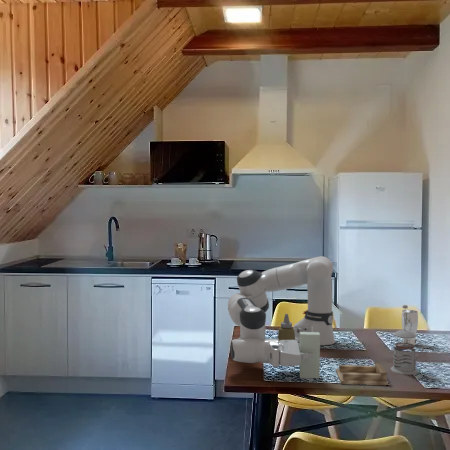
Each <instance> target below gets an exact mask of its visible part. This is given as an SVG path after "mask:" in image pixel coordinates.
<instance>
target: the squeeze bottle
mask: <svg viewBox="0 0 450 450" xmlns="http://www.w3.org/2000/svg"><path fill="white" fill-rule="evenodd" d="M289 317H290V316H289V314H288V313H284V319H283V321H282V322H280V327H279V328H278V331H277V333H278V334H277V339H279V341H280V340H295V332H294V329H293V322H291V321H290V318H289Z"/></svg>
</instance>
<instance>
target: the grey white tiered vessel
mask: <svg viewBox="0 0 450 450" xmlns="http://www.w3.org/2000/svg"><path fill="white" fill-rule="evenodd" d="M408 308H409V307H408V305H407V304H403V305H402V309H408ZM393 336H394V337H396V338H400V339H403V338H404V343H402V342H403V341H399V342H395V343H394V347H393V366H392V367H390V370H391V372H393V373H396V374H401V375H409V376H410V375H416V374H418V373H419V371H418V369H417V368H416V366H417V365H416V364H417V361H416V360H419V359H420V358H422V356H423V354H424V350H425V349H424V345H423V343H422V342H421V340H419V339H418V338H417V334H416V335H415V334H414V333H412V332H410V331H407V330H405V327H404V330H403V329H398V330H397V331H395V332H393ZM415 337H416V340H415V343H419V344H420V346H421V349H422V350H421V355H419V356H417V357H416V349H415V346H416V345H415V346H414V345H413V344H409V343H405V338H415Z"/></svg>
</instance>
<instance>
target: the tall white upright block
mask: <svg viewBox="0 0 450 450" xmlns="http://www.w3.org/2000/svg"><path fill="white" fill-rule="evenodd" d="M299 345H300V353H313V359H305V360H301V364H300V365H299V373H298V375H299V378H300V379H313V378H321V377H320V373H321V372H320V370H321V369H320V367H321V345H320V334H319V332H300V342H299Z"/></svg>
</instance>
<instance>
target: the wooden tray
mask: <svg viewBox="0 0 450 450" xmlns="http://www.w3.org/2000/svg"><path fill="white" fill-rule="evenodd" d="M338 366H339V367H338V368H335V373H336V375H337V378H338V380H339V382H341V383H340V384H341V385H358V384H366V386H386V385H388V386H389V383H388V372H387V371H386V369H385V368H384V366H383V365H382V364H381V363H374V365H356V364H355V365H352V364H350V365H349V364H339V365H338Z"/></svg>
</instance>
